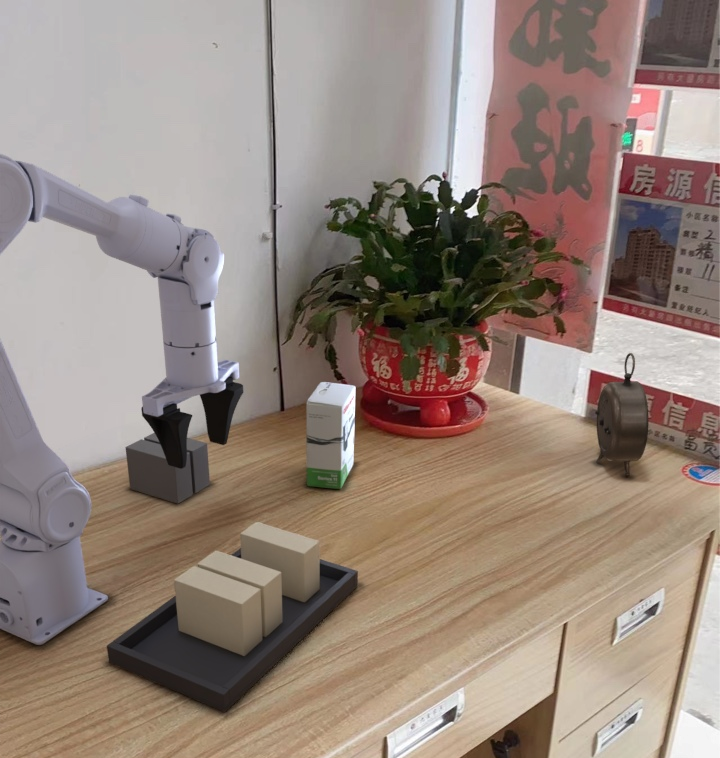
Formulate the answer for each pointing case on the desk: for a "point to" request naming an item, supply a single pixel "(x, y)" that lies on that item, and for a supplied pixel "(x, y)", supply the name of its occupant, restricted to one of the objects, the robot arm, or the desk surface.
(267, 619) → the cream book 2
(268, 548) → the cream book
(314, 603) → the tray
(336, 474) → the ink box
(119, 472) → the desk surface
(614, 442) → the alarm clock
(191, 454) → the gray rectangular block
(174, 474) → the gray rectangular block
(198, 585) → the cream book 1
